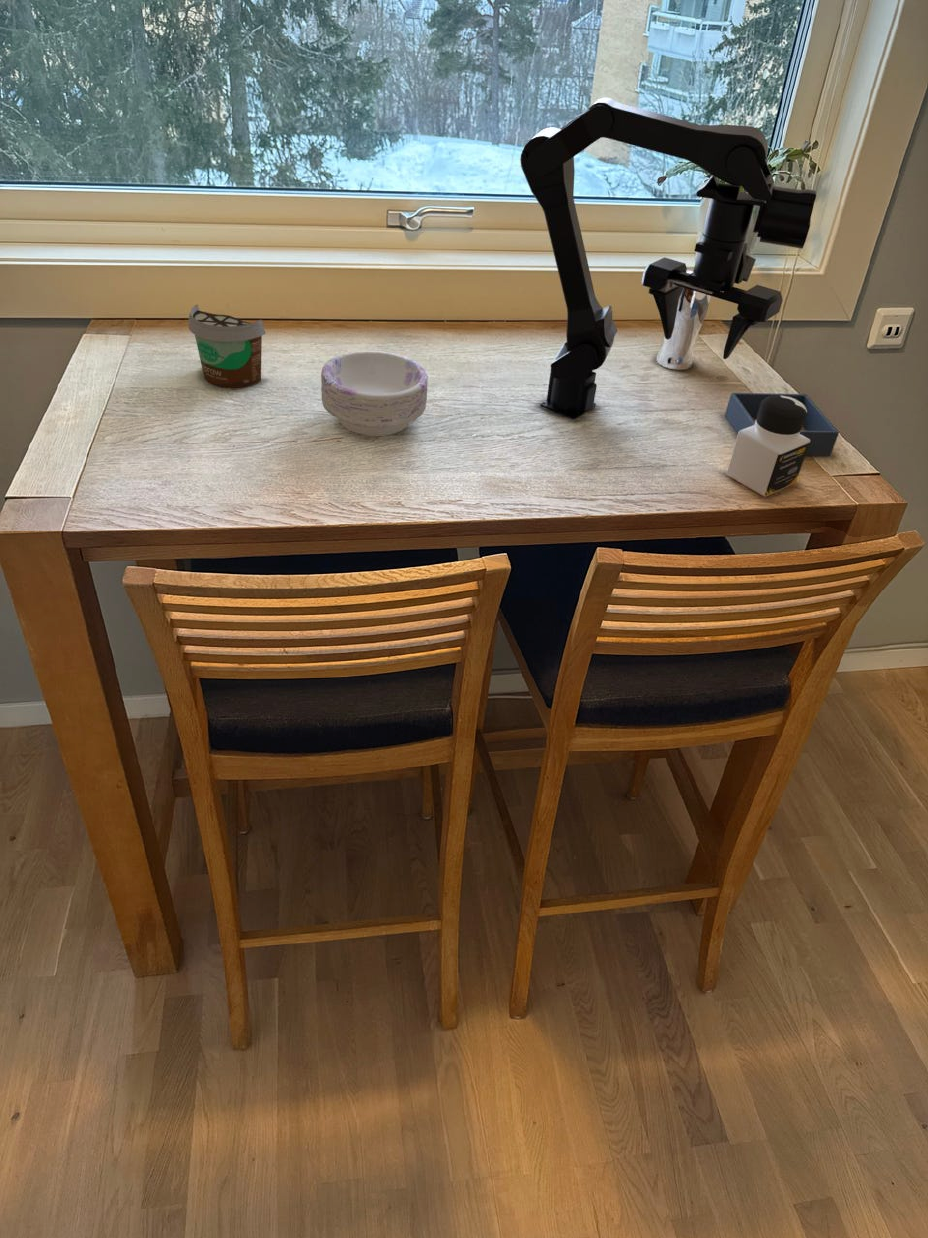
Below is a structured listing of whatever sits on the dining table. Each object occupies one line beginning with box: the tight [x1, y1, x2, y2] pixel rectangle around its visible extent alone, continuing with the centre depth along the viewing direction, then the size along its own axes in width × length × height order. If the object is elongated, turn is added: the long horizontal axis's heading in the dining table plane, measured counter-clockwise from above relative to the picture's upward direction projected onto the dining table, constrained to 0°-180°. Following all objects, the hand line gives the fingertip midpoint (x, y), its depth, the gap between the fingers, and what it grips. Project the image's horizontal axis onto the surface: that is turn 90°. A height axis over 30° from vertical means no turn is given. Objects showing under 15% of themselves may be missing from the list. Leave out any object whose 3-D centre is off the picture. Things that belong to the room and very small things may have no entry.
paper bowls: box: [320, 350, 429, 437], centre depth 130 cm, size 15×15×8 cm
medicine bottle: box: [726, 395, 810, 498], centre depth 124 cm, size 7×7×12 cm
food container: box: [187, 303, 267, 389], centre depth 136 cm, size 12×6×10 cm, turn 68°
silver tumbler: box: [656, 268, 712, 371], centre depth 152 cm, size 7×7×15 cm
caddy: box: [724, 392, 840, 457], centre depth 137 cm, size 12×12×4 cm
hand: (696, 348), depth 129 cm, fingers open, 9 cm apart
